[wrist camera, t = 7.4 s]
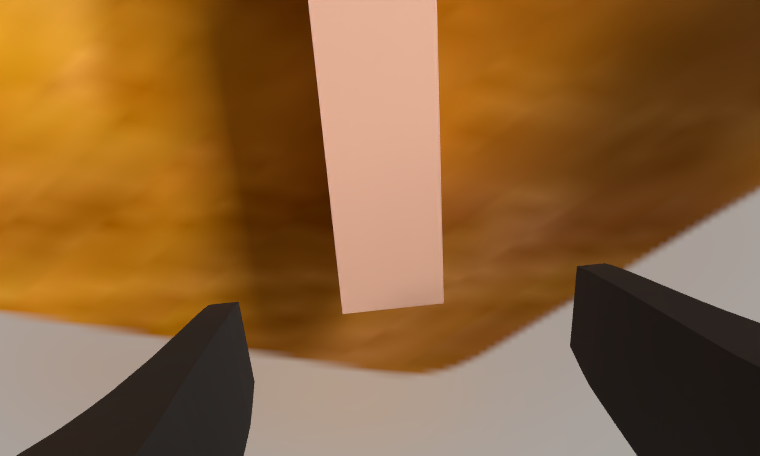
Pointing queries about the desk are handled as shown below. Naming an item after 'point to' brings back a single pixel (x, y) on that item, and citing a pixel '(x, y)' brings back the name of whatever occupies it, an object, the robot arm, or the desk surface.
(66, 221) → the desk surface
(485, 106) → the desk surface
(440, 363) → the desk surface
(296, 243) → the desk surface
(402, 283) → the salmon pink block
